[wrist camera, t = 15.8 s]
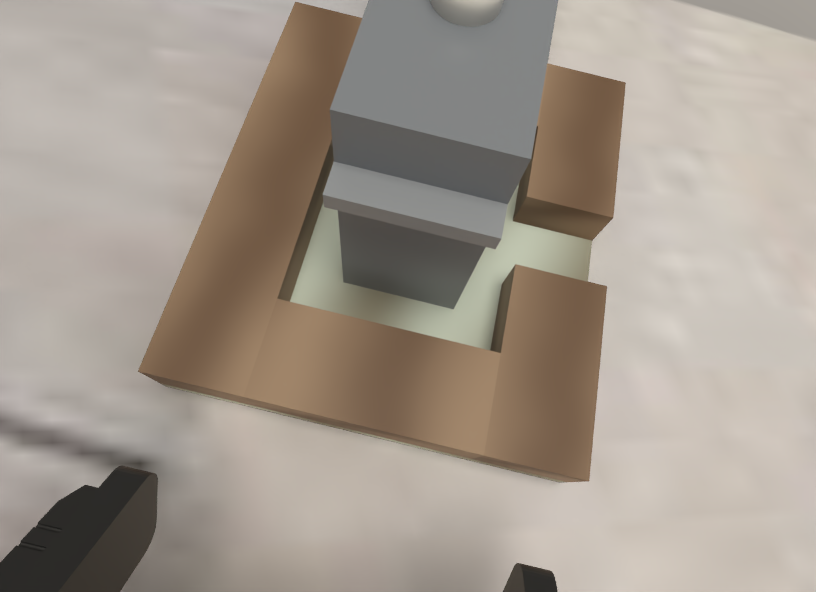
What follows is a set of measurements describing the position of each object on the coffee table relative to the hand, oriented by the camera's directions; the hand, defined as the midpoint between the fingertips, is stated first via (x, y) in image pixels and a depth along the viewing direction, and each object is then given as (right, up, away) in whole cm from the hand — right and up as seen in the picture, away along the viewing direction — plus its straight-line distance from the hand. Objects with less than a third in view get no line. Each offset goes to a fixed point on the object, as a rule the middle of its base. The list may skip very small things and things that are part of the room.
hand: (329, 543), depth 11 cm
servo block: (+2, +8, +10) cm, 13 cm away
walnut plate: (+2, +8, +11) cm, 14 cm away
